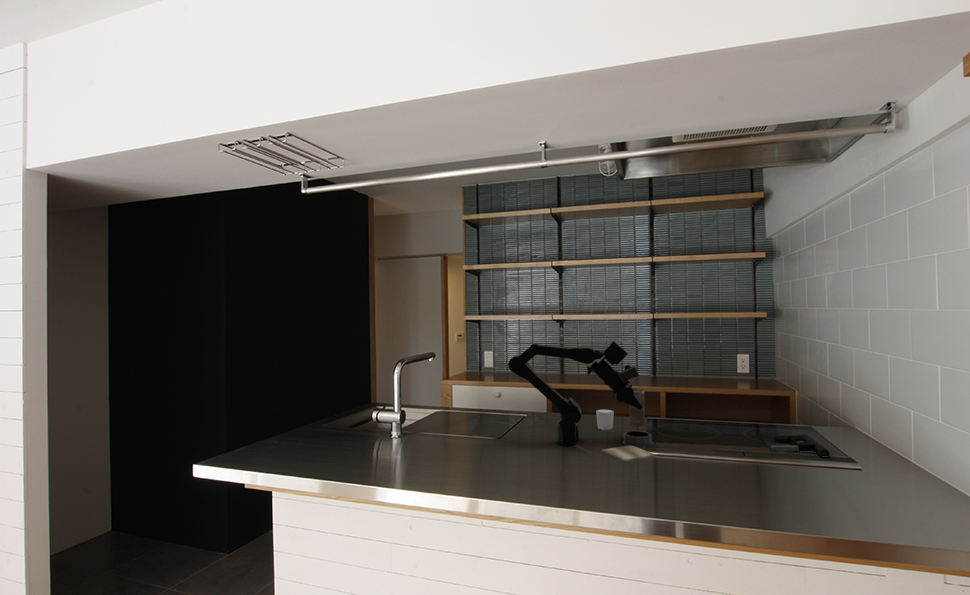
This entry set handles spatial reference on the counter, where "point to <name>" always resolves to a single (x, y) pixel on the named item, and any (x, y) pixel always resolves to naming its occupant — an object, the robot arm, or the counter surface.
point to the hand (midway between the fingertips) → (641, 406)
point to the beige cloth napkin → (628, 453)
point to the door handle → (799, 444)
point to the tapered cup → (638, 414)
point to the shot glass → (605, 419)
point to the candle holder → (638, 438)
